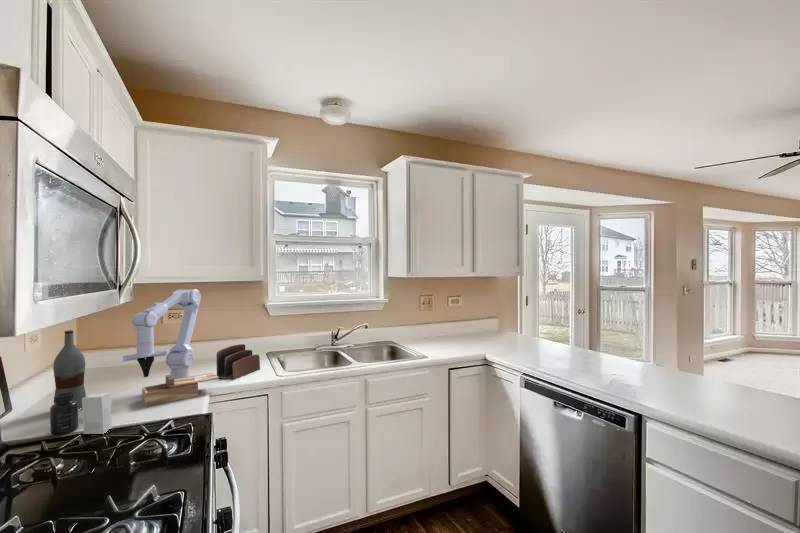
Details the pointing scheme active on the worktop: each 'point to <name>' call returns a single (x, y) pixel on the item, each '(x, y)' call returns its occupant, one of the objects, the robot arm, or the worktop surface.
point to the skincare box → (96, 413)
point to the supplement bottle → (64, 414)
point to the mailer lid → (189, 379)
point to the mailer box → (167, 393)
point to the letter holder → (236, 362)
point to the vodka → (70, 370)
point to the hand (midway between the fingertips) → (146, 376)
